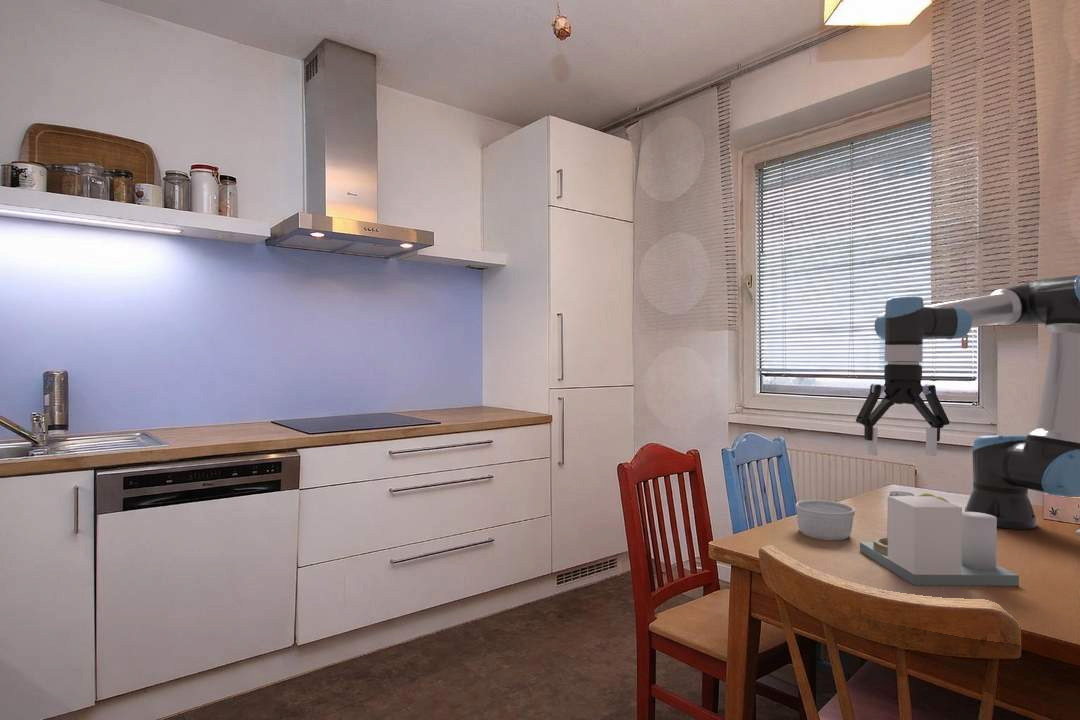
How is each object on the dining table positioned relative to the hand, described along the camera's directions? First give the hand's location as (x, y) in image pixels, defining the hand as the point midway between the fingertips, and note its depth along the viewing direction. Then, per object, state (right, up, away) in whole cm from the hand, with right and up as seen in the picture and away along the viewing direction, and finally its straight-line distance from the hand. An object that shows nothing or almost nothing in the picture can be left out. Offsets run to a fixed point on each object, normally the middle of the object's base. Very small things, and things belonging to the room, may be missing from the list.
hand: (901, 455), depth 140 cm
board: (-2, -21, -14) cm, 26 cm away
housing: (-8, -19, -20) cm, 28 cm away
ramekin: (-14, -21, +9) cm, 27 cm away
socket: (-6, -19, -10) cm, 22 cm away
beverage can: (0, -21, 0) cm, 21 cm away
